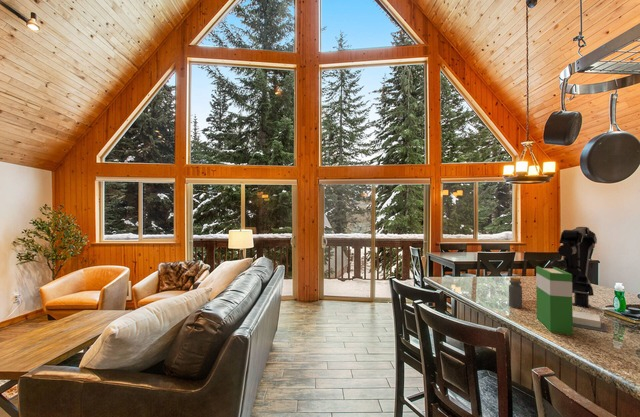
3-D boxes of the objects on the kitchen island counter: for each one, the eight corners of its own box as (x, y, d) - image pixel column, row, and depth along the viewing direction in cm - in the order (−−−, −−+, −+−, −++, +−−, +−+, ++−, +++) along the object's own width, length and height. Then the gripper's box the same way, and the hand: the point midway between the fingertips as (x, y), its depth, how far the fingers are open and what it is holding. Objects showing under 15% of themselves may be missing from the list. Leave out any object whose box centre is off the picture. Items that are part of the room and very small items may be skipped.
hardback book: (536, 318, 141) (536, 266, 142) (556, 320, 139) (555, 267, 139) (550, 332, 125) (549, 273, 125) (572, 335, 122) (572, 274, 123)
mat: (561, 317, 144) (561, 316, 144) (605, 324, 134) (605, 323, 134) (560, 324, 135) (560, 322, 135) (607, 332, 125) (607, 331, 125)
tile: (566, 309, 143) (566, 315, 135) (598, 314, 137) (600, 321, 128) (566, 316, 143) (566, 322, 135) (598, 321, 136) (600, 328, 128)
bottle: (520, 305, 162) (520, 276, 163) (523, 308, 157) (523, 279, 157) (507, 304, 164) (507, 276, 165) (510, 307, 159) (510, 278, 159)
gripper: (552, 252, 166) (552, 281, 166) (550, 255, 152) (551, 287, 152) (579, 253, 159) (580, 284, 159) (580, 257, 145) (580, 291, 145)
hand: (572, 286), depth 154 cm, fingers closed
